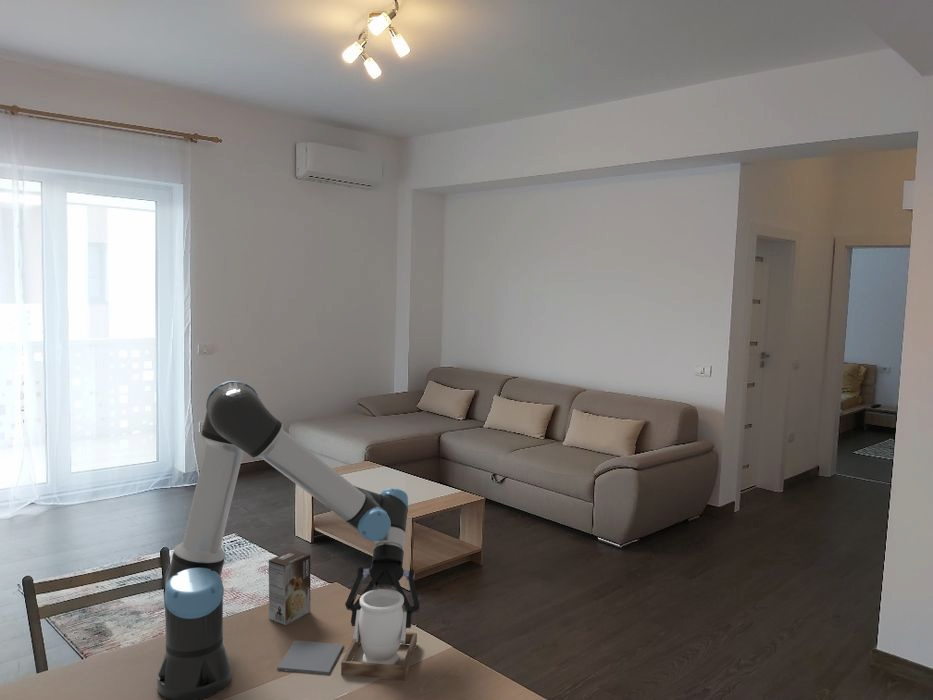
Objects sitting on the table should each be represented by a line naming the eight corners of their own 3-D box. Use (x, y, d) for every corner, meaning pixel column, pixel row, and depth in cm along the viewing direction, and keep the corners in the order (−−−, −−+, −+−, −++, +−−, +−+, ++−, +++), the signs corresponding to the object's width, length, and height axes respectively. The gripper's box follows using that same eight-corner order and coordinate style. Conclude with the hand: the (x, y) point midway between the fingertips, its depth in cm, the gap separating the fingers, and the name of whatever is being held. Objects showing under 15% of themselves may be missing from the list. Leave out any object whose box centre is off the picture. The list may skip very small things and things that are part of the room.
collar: (341, 675, 158) (341, 662, 158) (358, 639, 174) (358, 628, 174) (405, 680, 157) (405, 667, 157) (416, 644, 173) (416, 633, 172)
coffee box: (293, 605, 191) (294, 548, 189) (311, 612, 187) (311, 554, 186) (267, 619, 183) (268, 559, 181) (285, 626, 179) (285, 565, 178)
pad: (277, 669, 160) (277, 667, 160) (295, 642, 172) (295, 640, 171) (329, 674, 159) (329, 671, 158) (343, 646, 170) (343, 644, 170)
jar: (394, 674, 159) (396, 611, 158) (351, 668, 161) (352, 605, 160) (408, 650, 170) (409, 591, 168) (367, 644, 172) (368, 585, 170)
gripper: (434, 556, 179) (429, 648, 165) (345, 553, 179) (331, 644, 165) (434, 544, 173) (428, 638, 159) (341, 541, 173) (327, 634, 159)
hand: (379, 641), depth 162 cm, fingers closed on jar, 10 cm apart
